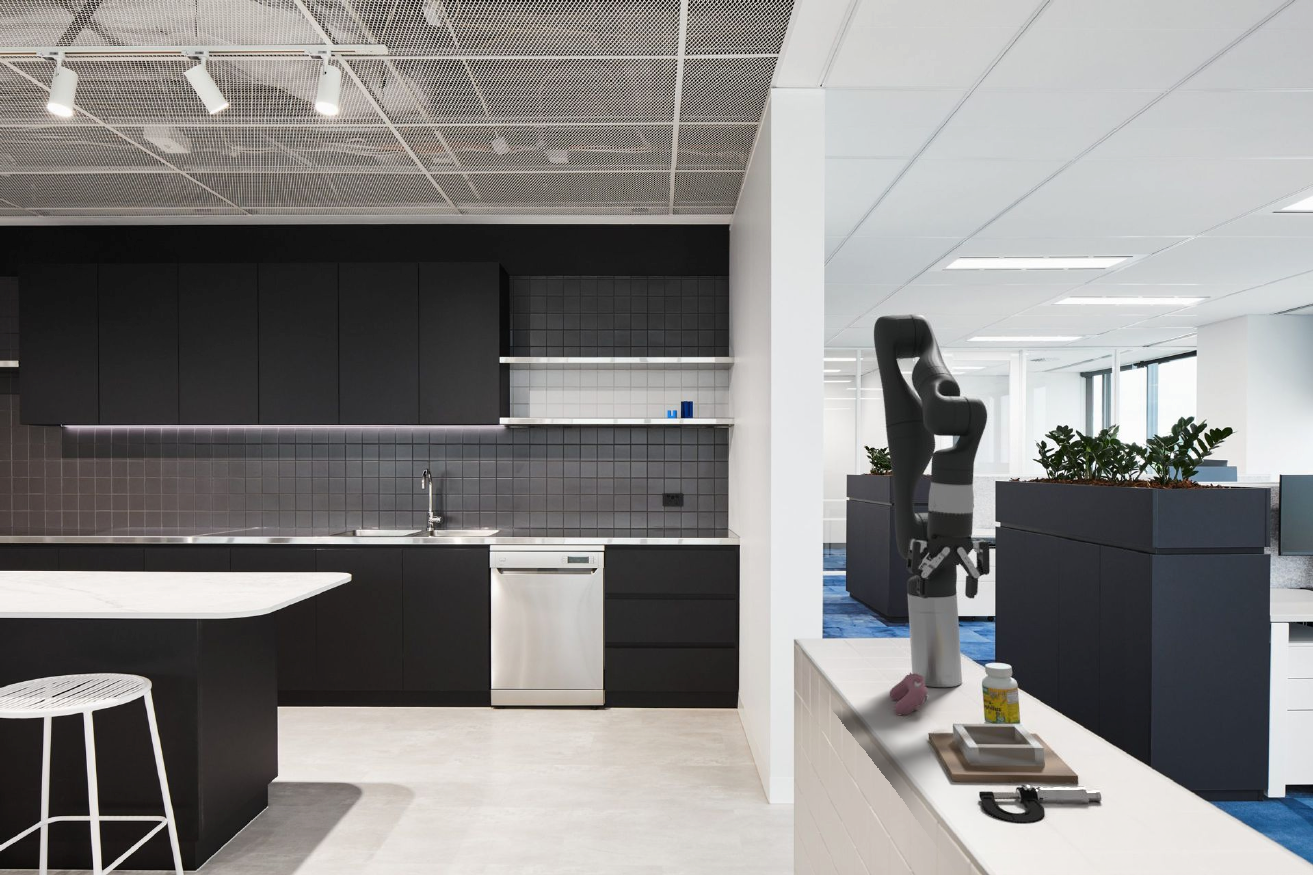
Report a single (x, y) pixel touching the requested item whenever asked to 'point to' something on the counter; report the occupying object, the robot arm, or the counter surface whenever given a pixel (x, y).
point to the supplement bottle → (1000, 695)
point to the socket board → (999, 755)
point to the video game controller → (909, 694)
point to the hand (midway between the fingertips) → (946, 597)
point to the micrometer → (1035, 801)
